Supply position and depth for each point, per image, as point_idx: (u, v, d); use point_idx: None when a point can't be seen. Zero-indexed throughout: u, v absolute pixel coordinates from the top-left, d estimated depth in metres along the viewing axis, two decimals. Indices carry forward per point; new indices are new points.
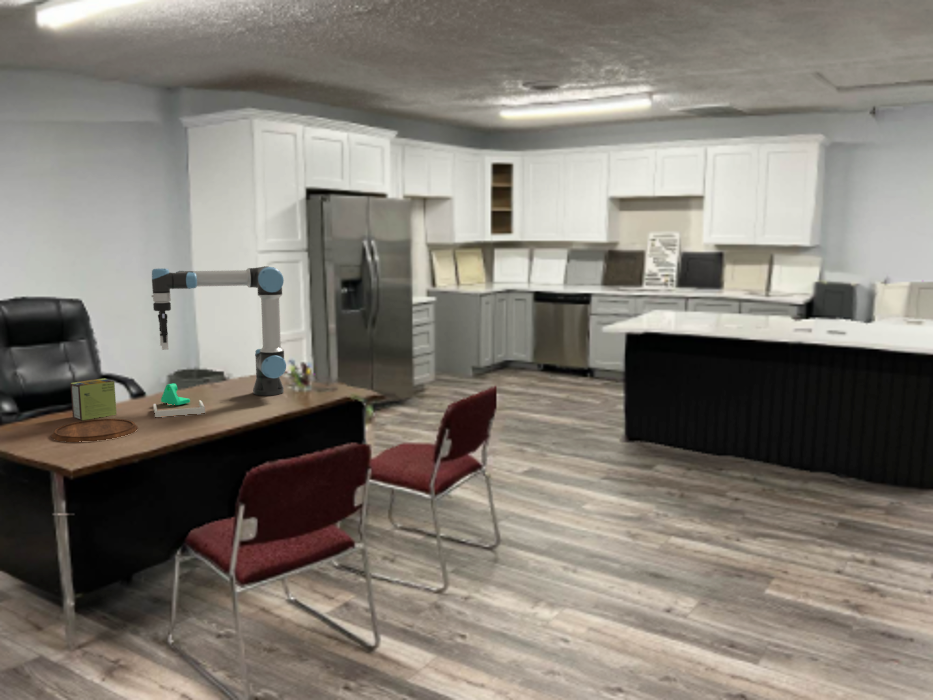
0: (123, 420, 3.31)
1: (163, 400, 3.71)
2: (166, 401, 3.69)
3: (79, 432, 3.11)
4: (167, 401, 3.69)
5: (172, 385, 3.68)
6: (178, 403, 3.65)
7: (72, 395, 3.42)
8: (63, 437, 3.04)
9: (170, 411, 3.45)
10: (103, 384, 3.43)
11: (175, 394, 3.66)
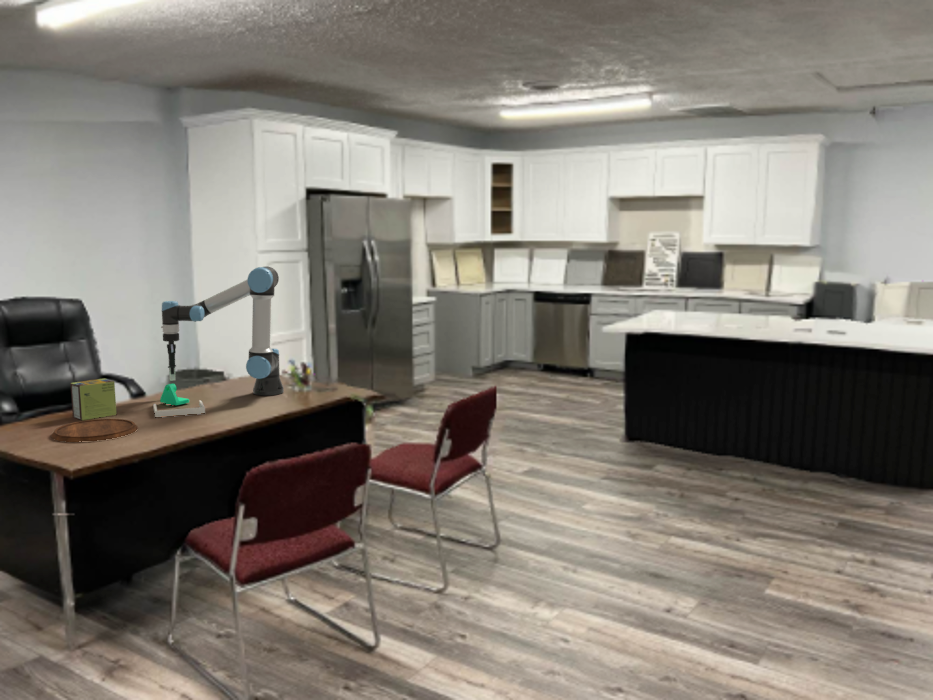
0: (123, 420, 3.30)
1: (162, 400, 3.70)
2: (165, 401, 3.69)
3: (79, 432, 3.11)
4: (166, 402, 3.69)
5: (171, 385, 3.67)
6: (177, 404, 3.65)
7: (72, 395, 3.42)
8: (63, 437, 3.04)
9: (170, 411, 3.45)
10: (103, 384, 3.43)
11: (175, 395, 3.66)
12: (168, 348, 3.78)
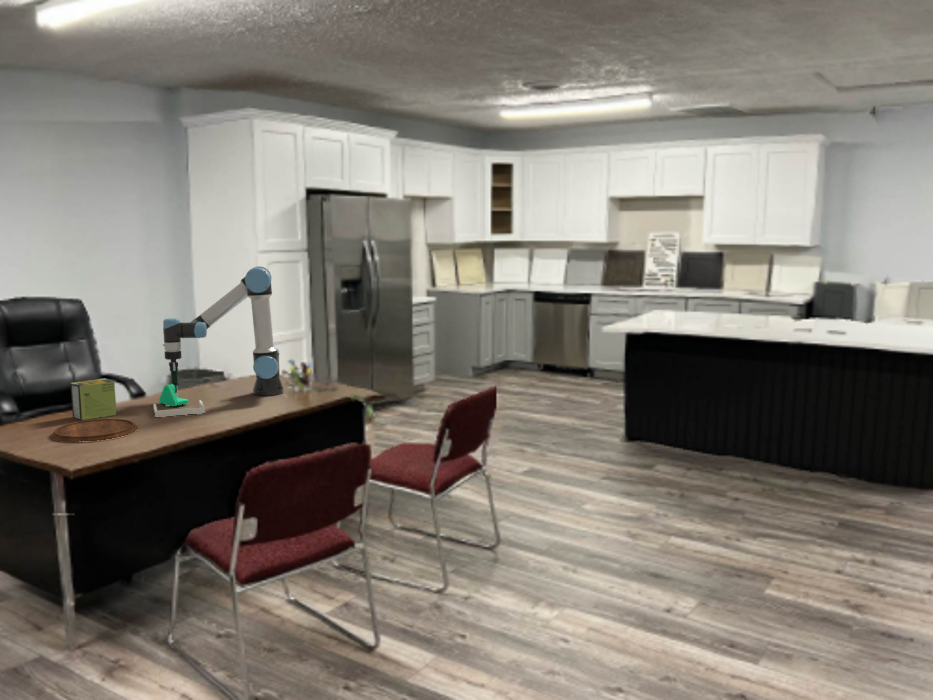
0: (123, 420, 3.31)
1: (161, 401, 3.68)
2: (164, 402, 3.67)
3: (79, 432, 3.11)
4: (165, 402, 3.67)
5: (170, 385, 3.65)
6: (175, 404, 3.63)
7: (72, 395, 3.42)
8: (63, 437, 3.04)
9: (170, 411, 3.45)
10: (103, 384, 3.43)
11: (173, 395, 3.64)
12: (170, 366, 3.71)
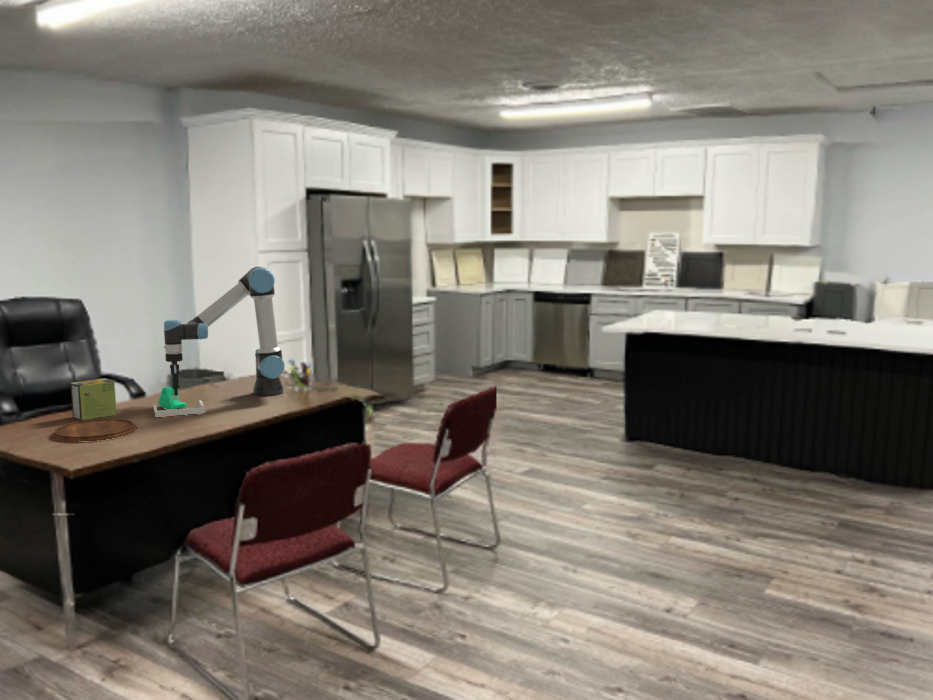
0: (123, 420, 3.30)
1: (160, 404, 3.62)
2: (162, 405, 3.60)
3: (79, 432, 3.11)
4: (163, 405, 3.60)
5: (168, 388, 3.58)
6: (172, 408, 3.55)
7: (72, 394, 3.42)
8: (63, 437, 3.04)
9: (170, 411, 3.45)
10: (103, 384, 3.43)
11: (170, 398, 3.56)
12: (171, 369, 3.65)
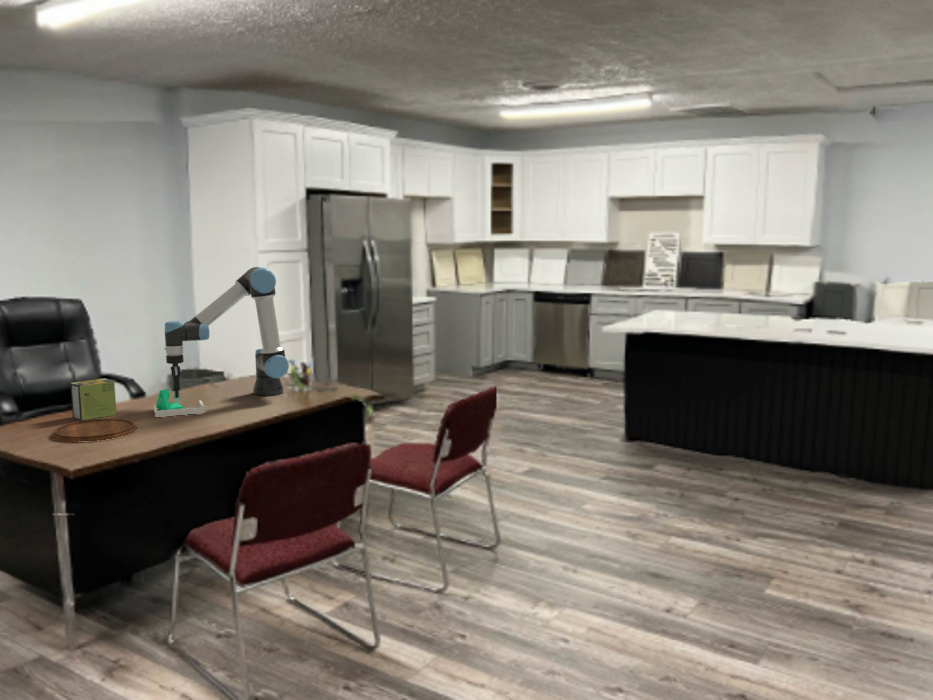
0: (123, 420, 3.31)
1: (158, 406, 3.58)
2: (160, 407, 3.56)
3: (79, 432, 3.11)
4: (160, 408, 3.56)
5: (165, 391, 3.54)
6: None
7: (72, 394, 3.42)
8: (63, 437, 3.04)
9: (170, 411, 3.45)
10: (103, 384, 3.43)
11: (167, 401, 3.52)
12: (172, 371, 3.60)
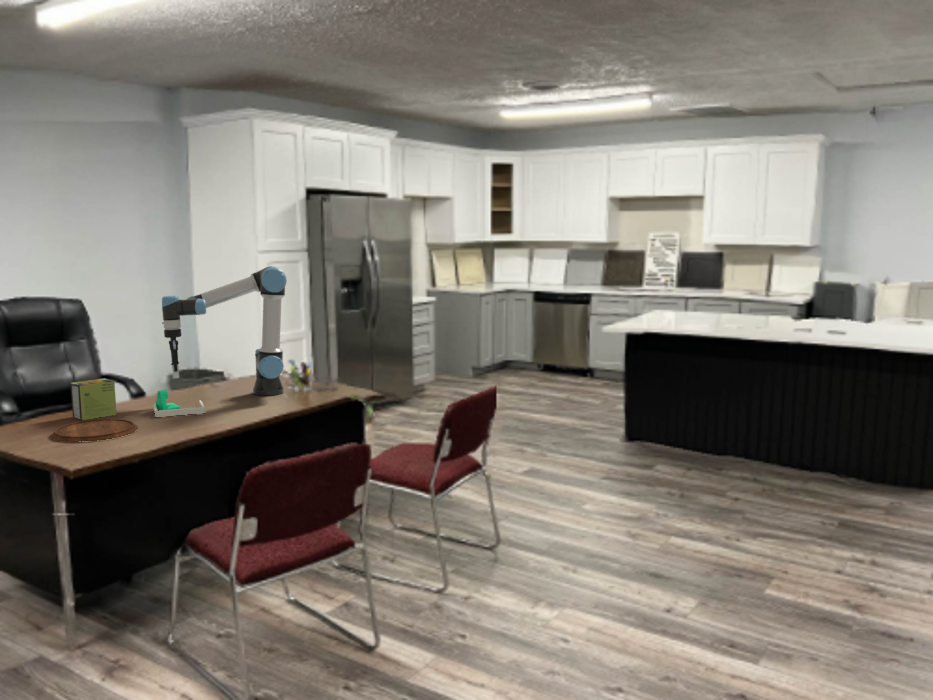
0: (123, 420, 3.31)
1: (156, 406, 3.57)
2: (158, 408, 3.56)
3: (79, 432, 3.11)
4: (159, 408, 3.55)
5: (163, 391, 3.53)
6: None
7: (72, 394, 3.42)
8: (63, 437, 3.04)
9: (170, 411, 3.45)
10: (103, 384, 3.43)
11: (164, 402, 3.51)
12: (170, 345, 3.64)
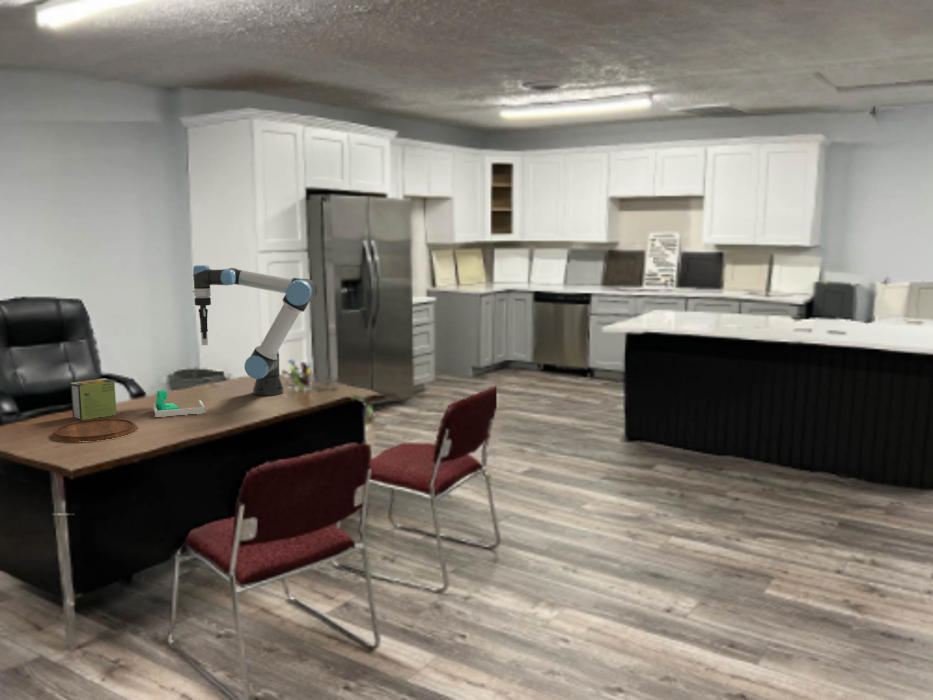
0: (123, 420, 3.31)
1: (156, 406, 3.57)
2: (157, 408, 3.55)
3: (79, 432, 3.11)
4: (158, 408, 3.55)
5: (162, 391, 3.52)
6: None
7: (72, 394, 3.42)
8: (63, 437, 3.04)
9: (170, 411, 3.45)
10: (103, 384, 3.43)
11: (162, 402, 3.50)
12: (200, 312, 3.77)
